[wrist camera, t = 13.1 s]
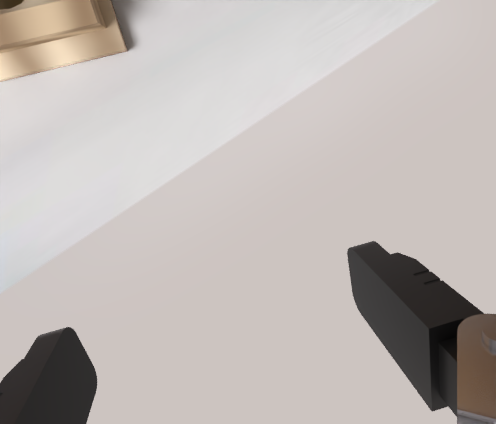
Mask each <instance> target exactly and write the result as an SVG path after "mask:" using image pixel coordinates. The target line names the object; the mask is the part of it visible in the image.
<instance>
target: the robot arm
mask: <svg viewBox="0 0 496 424" xmlns="http://www.w3.org/2000/svg"><path fill="white" fill-rule="evenodd" d="M347 254H348V263H349V270H350V277H351V285H352V292H353V296H354V300H355V303H356V305H357V308H358V310H359V311H360V313H361V315H362V316H363V317H364V319H365V320H366V321H367V323H368V324H369V326H370V327H371V328H372V329H373V331H374V332H375V334H376V335H377V337H378V338H379V339H380V341H381V342H382V343H383V345H384V346H385V348H386V349H387V350H388V352H389V353H390V354H391V356H392V357H393V359H394V360H395V361H396V363H397V364H398V365H399V367H400V368H401V369H402V371H403V372H404V374H405V375H406V376H407V378H408V379H409V380H410V382H411V383H412V385H413V386H414V387H415V389H416V390H417V392H418V393H419V394H420V396H421V397H422V398H423V400H424V401H425V403H426V404H427V405H428V407H429V408H430V409H431V411H435V410H438V409H441V408H444V407H447V406H449V407H450V409H451V410H452V411H453V413H454V414H455V415H456V416H457V424H496V314H484V313H483V312H481V311H480V310H479V309H478V308H476V307H475V306H474V305H473V304H471V303H470V302H469V301H468V300H466V299H465V298H464V297H463V296H461V295H460V294H459V293H457V292H456V291H455V290H454V289H452V288H451V287H450V286H449V285H447V284H446V283H445V282H444V281H440V278H439V277H437V276H436V275H435V274H433V273H432V272H429V270H428V269H427V268H426V267H425V266H423V265H422V264H421V263H420V262H418V261H417V260H416V259H414V258H411V257H408V256H406V255H403V254H400V253H394V254H391V255H390V254H389V253H388V252H387V251H386V250H384V249H383V248H382V247H381V246H380V245H379V244H378V243H376V242H374V241H372V242H369V243H365V244H362V245H358V246H355V247H351V248H349V249H348V253H347ZM96 389H97V376H96V372H95V368H94V366H93V364H92V362H91V361H90V359H89V357H88V355H87V353H86V351H85V349H84V347H83V346H82V344H81V342H80V340H79V338H78V336H77V334H76V332H75V331H74V330H73V329H72V328H70V327H67V328H63V329H60V330H56V331H53V332H49V333H46V334H42V335H40V336H38V337H37V338H36V340H35V342H34V343H33V345H32V346H31V348H30V350H29V351H28V353H27V355H26V356H25V358H24V359H22V360H21V361H20V362H19V363H18V364H17V365H16V366H15V367H14V368H13V369H12V370H11V371H10V372H9V373H8V374H7V375H6V376H5V377H4V378H3V380H2V381H1V383H0V424H86V422H87V418H88V416H89V412H90V409H91V406H92V402H93V400H94V396H95V393H96Z"/></svg>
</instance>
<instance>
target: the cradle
mask: <svg viewBox="0 0 496 424" xmlns="http://www.w3.org/2000/svg"><path fill="white" fill-rule="evenodd" d="M126 51H128V50H127V47H126V44H125V41H124V38H123V35H122V32H121V29H120V26H119V23H118V20H117V17H116V14H115V11H114V8H113V5H112V2H111V0H24V1H23V2H22V3H21V4H19V5H17V6H15V7H13V8H11V9H0V82H2V81H6V80H10V79H14V78H18V77H22V76H27V75H31V74H35V73H39V72H43V71H47V70H52V69H56V68H60V67H64V66H68V65H72V64H76V63H81V62H85V61H89V60H93V59H97V58H101V57H105V56H110V55H114V54H118V53H122V52H126Z"/></svg>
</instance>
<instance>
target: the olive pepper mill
mask: <svg viewBox="0 0 496 424" xmlns="http://www.w3.org/2000/svg"><path fill="white" fill-rule="evenodd" d="M23 1H24V0H0V9H11V8H13V7H15V6H17V5H19V4H21V3H22V2H23Z"/></svg>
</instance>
